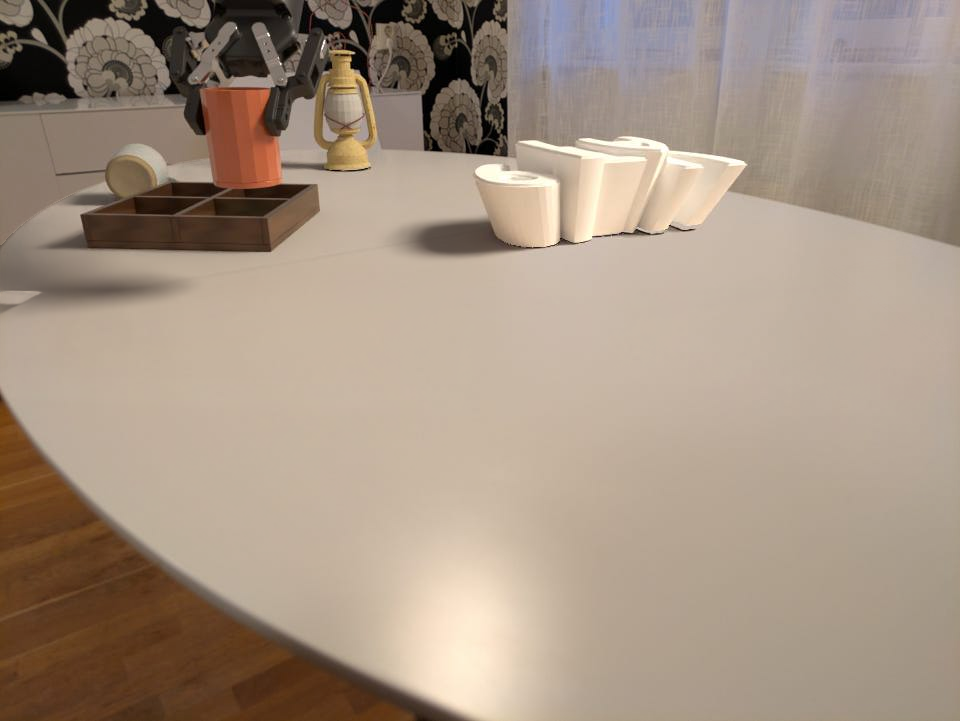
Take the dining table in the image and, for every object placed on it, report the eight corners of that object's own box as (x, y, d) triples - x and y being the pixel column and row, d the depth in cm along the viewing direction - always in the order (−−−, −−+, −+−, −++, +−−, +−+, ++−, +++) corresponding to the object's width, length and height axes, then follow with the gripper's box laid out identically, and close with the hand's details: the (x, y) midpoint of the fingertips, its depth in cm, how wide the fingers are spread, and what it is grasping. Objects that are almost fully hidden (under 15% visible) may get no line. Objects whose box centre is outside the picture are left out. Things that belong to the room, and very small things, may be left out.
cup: (202, 188, 59) (187, 89, 55) (228, 176, 64) (216, 86, 61) (270, 189, 59) (258, 90, 55) (290, 178, 64) (281, 87, 61)
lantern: (376, 163, 137) (368, -4, 125) (381, 170, 129) (372, -8, 116) (316, 164, 135) (301, -6, 122) (317, 172, 126) (301, -10, 114)
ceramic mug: (107, 205, 97) (96, 150, 94) (119, 194, 105) (109, 143, 101) (185, 203, 100) (177, 150, 97) (192, 193, 107) (185, 143, 104)
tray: (87, 247, 77) (79, 214, 76) (172, 208, 97) (168, 181, 95) (271, 251, 76) (267, 218, 75) (320, 211, 96) (317, 184, 94)
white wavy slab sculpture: (670, 207, 100) (679, 133, 96) (747, 233, 86) (762, 147, 82) (448, 225, 89) (447, 142, 84) (495, 258, 75) (497, 160, 70)
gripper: (347, 19, 67) (326, 159, 61) (205, 17, 67) (171, 156, 62) (329, -51, 60) (304, 100, 54) (171, -52, 60) (129, 97, 55)
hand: (233, 129), depth 58 cm, fingers closed on cup, 6 cm apart
